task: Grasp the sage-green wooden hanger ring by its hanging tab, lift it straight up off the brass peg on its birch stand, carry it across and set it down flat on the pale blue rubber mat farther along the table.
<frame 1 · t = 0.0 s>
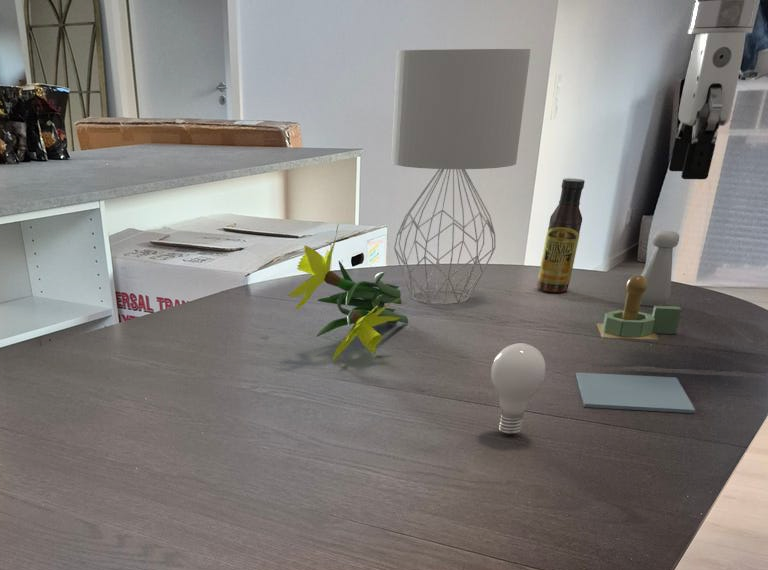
hand: (686, 174, 115), 25 cm above the table, tool pointing down, fingers open, 9 cm apart
mat: (631, 393, 118), on the table
hanger ring: (626, 330, 142), point 1 cm above the table, touching peg stand
sauce bottle: (552, 291, 171), on the table
table lamp: (440, 298, 166), on the table
salt shaker: (650, 309, 158), on the table
lightbulb: (508, 436, 105), on the table
daffodil flowers: (357, 344, 140), on the table
peg stand: (625, 335, 142), on the table
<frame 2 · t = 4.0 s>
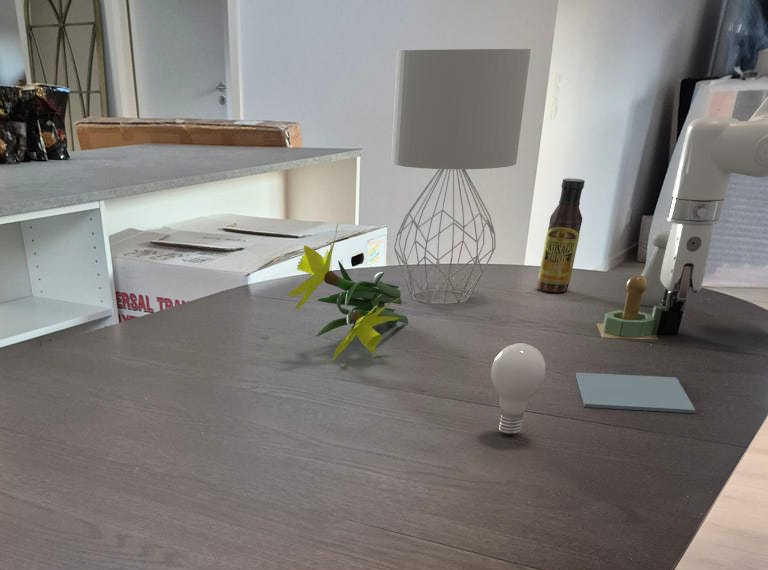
hand: (665, 332, 141), 1 cm above the table, tool pointing down, fingers closed on hanger ring
hanger ring: (626, 330, 142), point 1 cm above the table, touching gripper, peg stand
everything else where it was.
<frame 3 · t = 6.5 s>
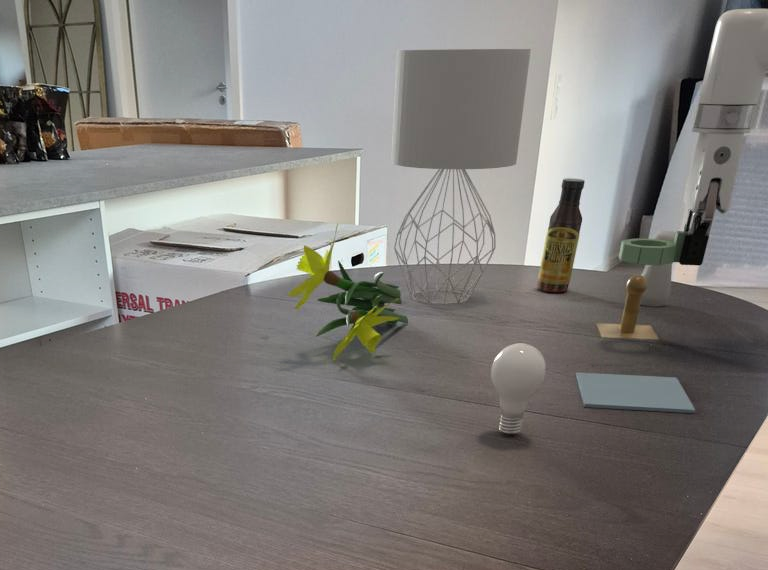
hand: (688, 262, 127), 13 cm above the table, tool pointing down, fingers closed on hanger ring
hanger ring: (645, 260, 128), point 13 cm above the table, touching gripper
everything else where it was.
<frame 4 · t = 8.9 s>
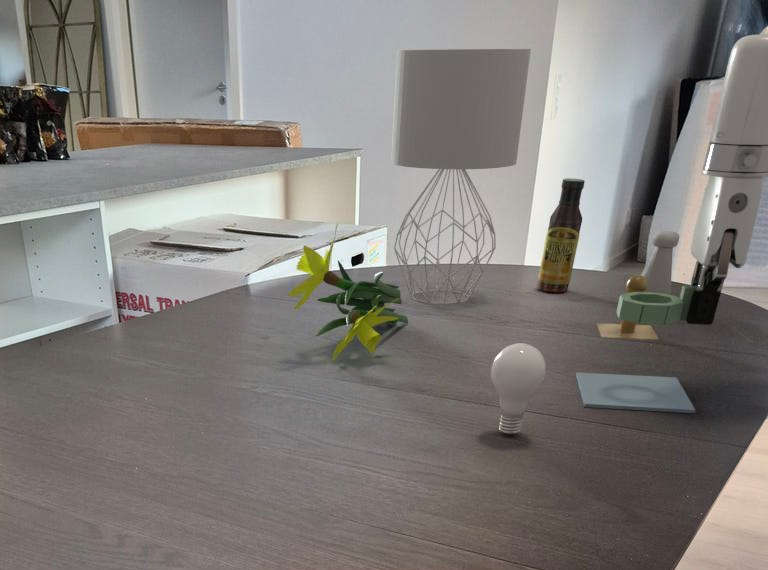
hand: (697, 320, 111), 10 cm above the table, tool pointing down, fingers closed on hanger ring
hanger ring: (647, 317, 112), point 10 cm above the table, touching gripper
everything else where it was.
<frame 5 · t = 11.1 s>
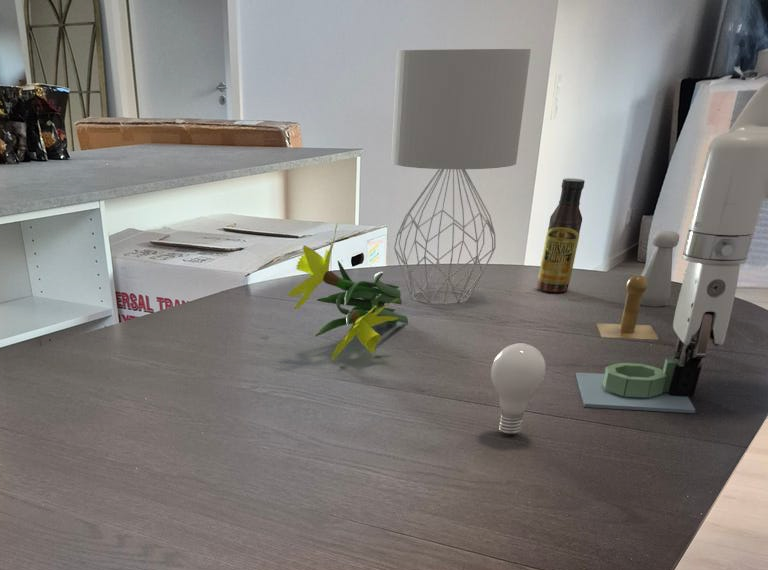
hand: (679, 391, 116), 1 cm above the table, tool pointing down, fingers closed, pressing on hanger ring, mat
hanger ring: (632, 388, 117), point 1 cm above the table, touching gripper
everything else where it was.
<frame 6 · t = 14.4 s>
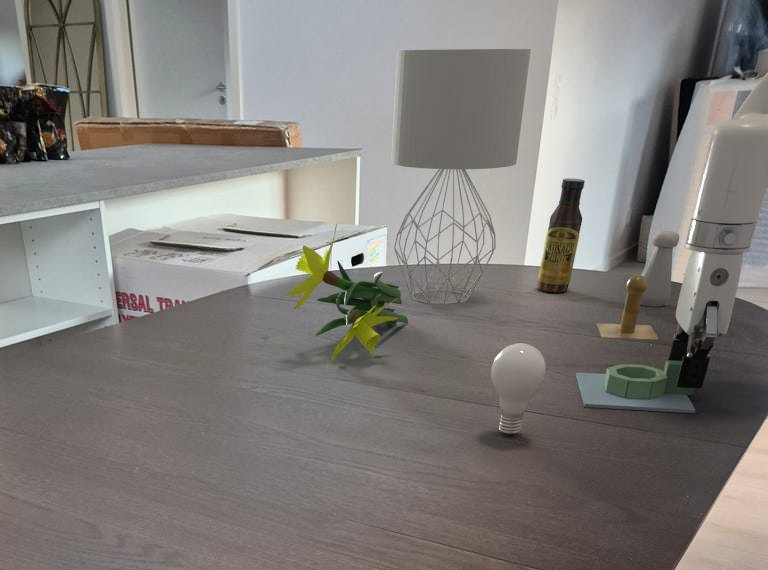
hand: (683, 377, 115), 3 cm above the table, tool pointing down, fingers open, 7 cm apart
hanger ring: (633, 389, 118), resting on mat
everything else where it was.
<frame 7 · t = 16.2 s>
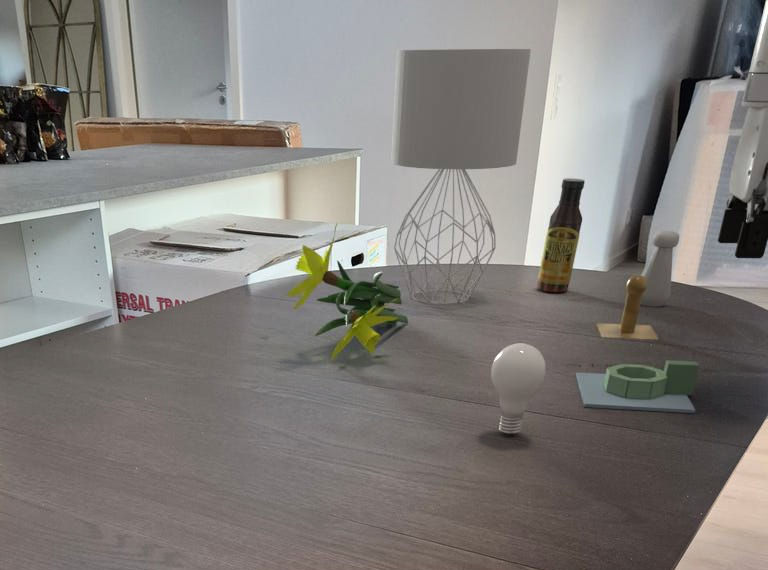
hand: (739, 250, 108), 18 cm above the table, tool pointing down, fingers open, 9 cm apart
nothing on the table moved.
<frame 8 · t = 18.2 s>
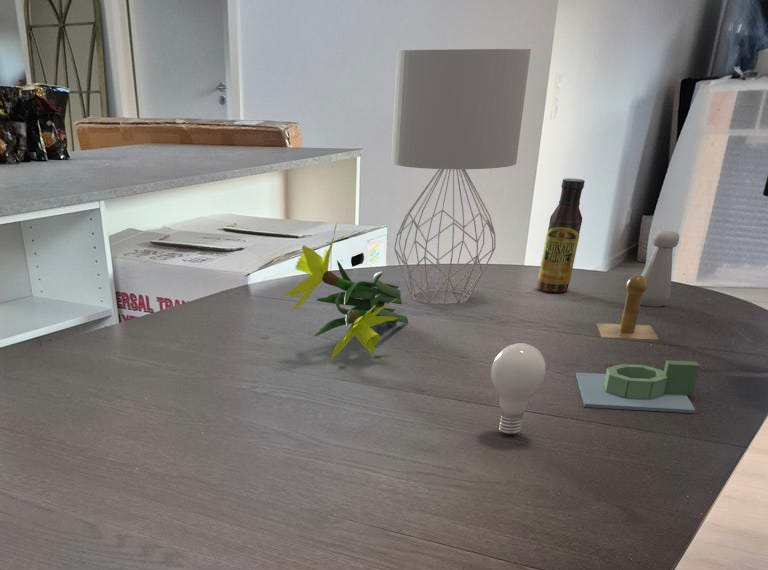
nothing on the table moved.
at the end: hanger ring inside the target area on the mat (0.1 cm from its centre), point 0.5 cm above the mat's base; hanger ring tilted 0°; the gripper is holding nothing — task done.
